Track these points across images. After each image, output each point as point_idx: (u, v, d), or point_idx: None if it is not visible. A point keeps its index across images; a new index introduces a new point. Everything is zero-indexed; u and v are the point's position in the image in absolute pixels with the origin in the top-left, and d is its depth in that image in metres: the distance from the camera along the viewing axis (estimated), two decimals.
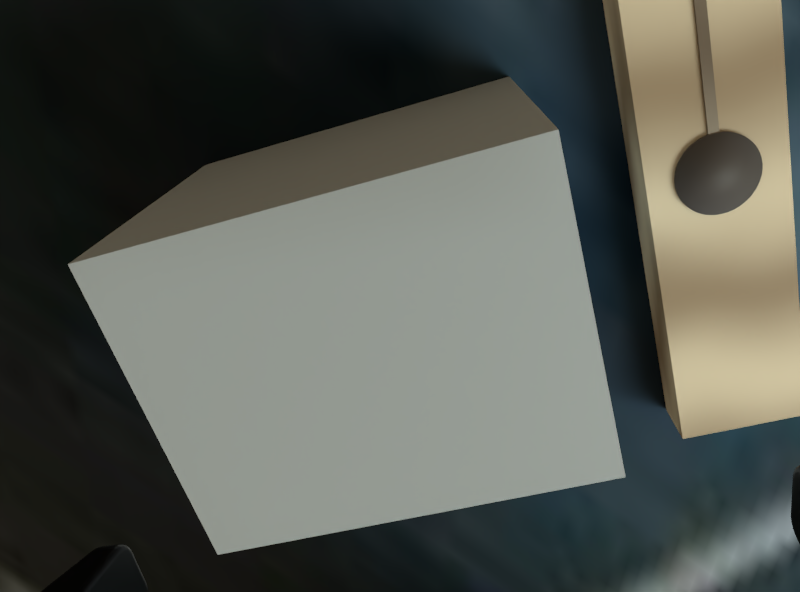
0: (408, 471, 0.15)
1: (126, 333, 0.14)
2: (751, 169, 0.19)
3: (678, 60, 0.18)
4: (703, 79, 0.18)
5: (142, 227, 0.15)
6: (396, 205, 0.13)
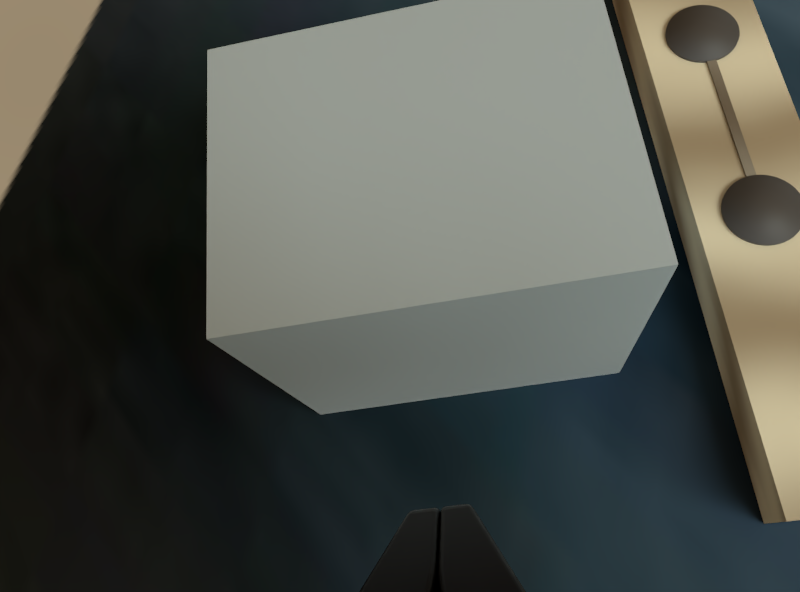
0: (438, 244, 0.14)
1: (225, 101, 0.17)
2: (794, 206, 0.21)
3: (710, 124, 0.22)
4: (733, 137, 0.22)
5: None
6: (468, 12, 0.17)
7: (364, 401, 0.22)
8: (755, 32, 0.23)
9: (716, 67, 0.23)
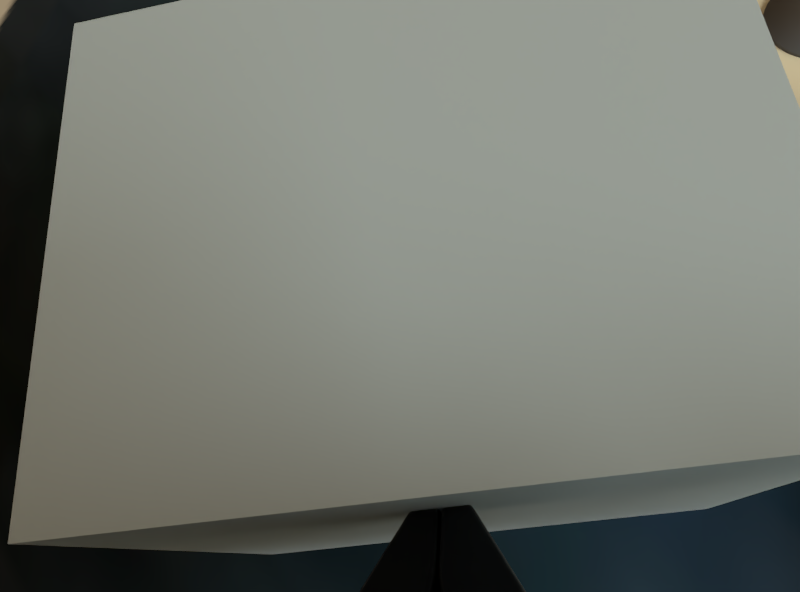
0: (442, 373, 0.08)
1: (92, 105, 0.10)
2: None
3: None
4: None
5: None
6: None
7: (332, 545, 0.15)
8: None
9: None
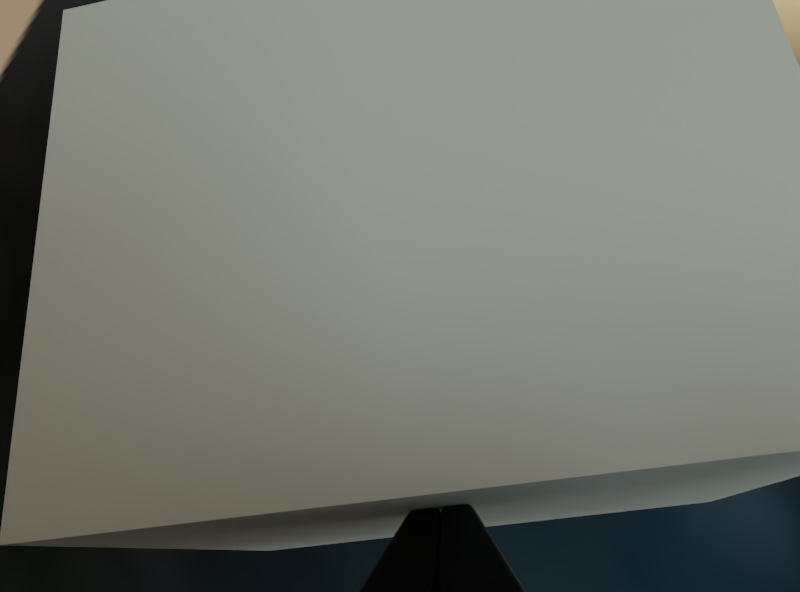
0: (445, 368, 0.07)
1: (82, 94, 0.10)
2: None
3: None
4: None
5: None
6: None
7: (331, 541, 0.15)
8: None
9: None
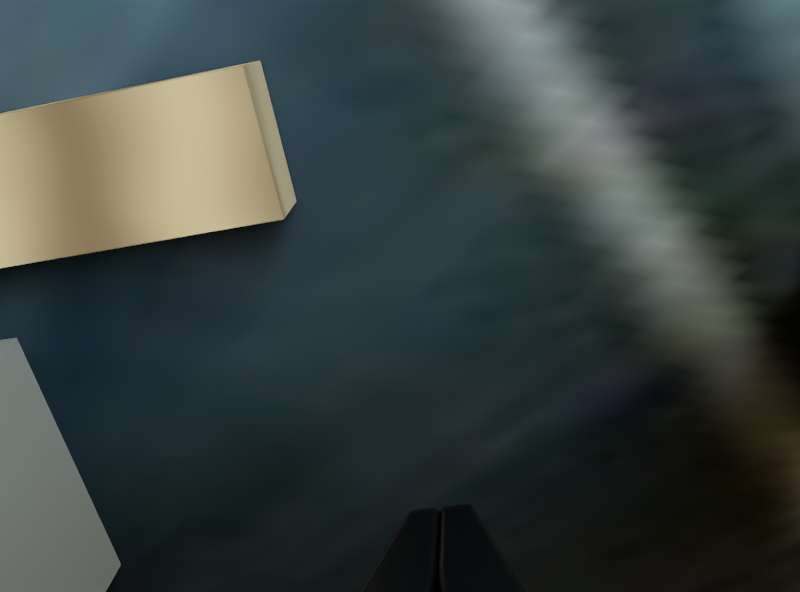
0: None
1: None
2: None
3: None
4: None
5: None
6: None
7: (92, 549, 0.24)
8: None
9: None
